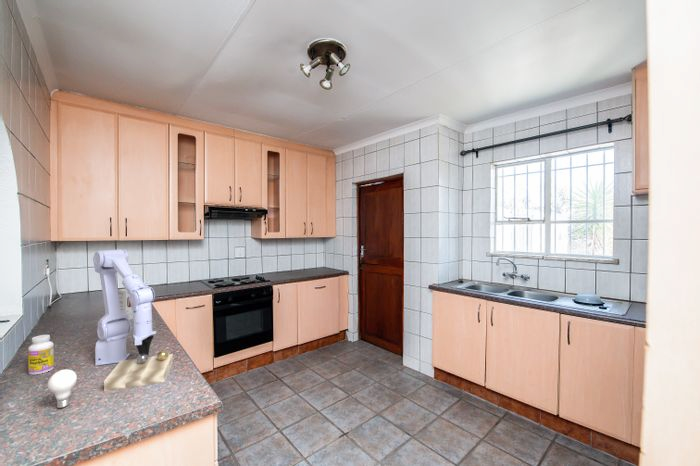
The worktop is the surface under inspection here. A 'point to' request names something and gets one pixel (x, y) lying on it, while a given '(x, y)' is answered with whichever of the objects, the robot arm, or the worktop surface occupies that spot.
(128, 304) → the supplement box
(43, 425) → the worktop surface
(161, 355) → the brass ball
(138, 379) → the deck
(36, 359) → the supplement bottle
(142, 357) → the steel ball
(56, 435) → the worktop surface
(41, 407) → the worktop surface
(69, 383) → the lightbulb
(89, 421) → the worktop surface
